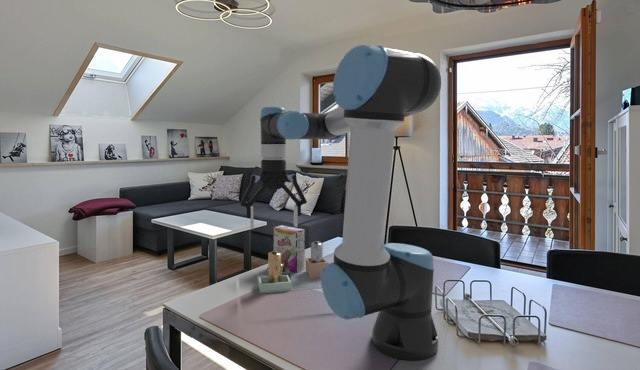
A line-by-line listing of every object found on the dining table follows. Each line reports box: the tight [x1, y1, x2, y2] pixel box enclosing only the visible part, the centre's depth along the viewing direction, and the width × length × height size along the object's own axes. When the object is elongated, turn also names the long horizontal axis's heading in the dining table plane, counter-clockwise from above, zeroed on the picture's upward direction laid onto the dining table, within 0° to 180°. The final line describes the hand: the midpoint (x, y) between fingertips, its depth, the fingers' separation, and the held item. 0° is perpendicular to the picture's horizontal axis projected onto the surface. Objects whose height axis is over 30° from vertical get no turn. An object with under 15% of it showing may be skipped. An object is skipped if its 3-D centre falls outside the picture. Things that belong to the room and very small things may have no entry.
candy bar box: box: [272, 225, 306, 273], centre depth 136 cm, size 11×5×16 cm, turn 56°
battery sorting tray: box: [256, 256, 329, 295], centre depth 124 cm, size 16×24×6 cm, turn 104°
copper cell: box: [267, 250, 281, 283], centre depth 118 cm, size 4×4×12 cm
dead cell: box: [310, 240, 324, 263], centre depth 130 cm, size 4×4×12 cm
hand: (274, 227), depth 117 cm, fingers open, 13 cm apart
